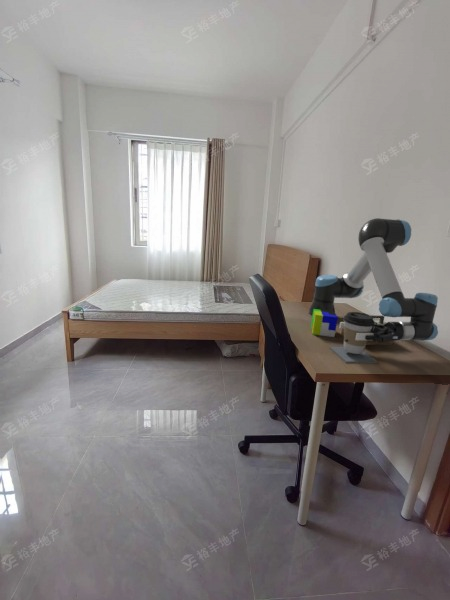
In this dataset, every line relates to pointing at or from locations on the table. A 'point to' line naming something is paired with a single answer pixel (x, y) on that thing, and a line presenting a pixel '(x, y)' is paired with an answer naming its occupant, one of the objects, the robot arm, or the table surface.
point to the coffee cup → (356, 331)
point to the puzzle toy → (324, 322)
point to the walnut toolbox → (371, 342)
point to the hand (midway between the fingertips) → (347, 330)
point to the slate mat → (352, 356)
